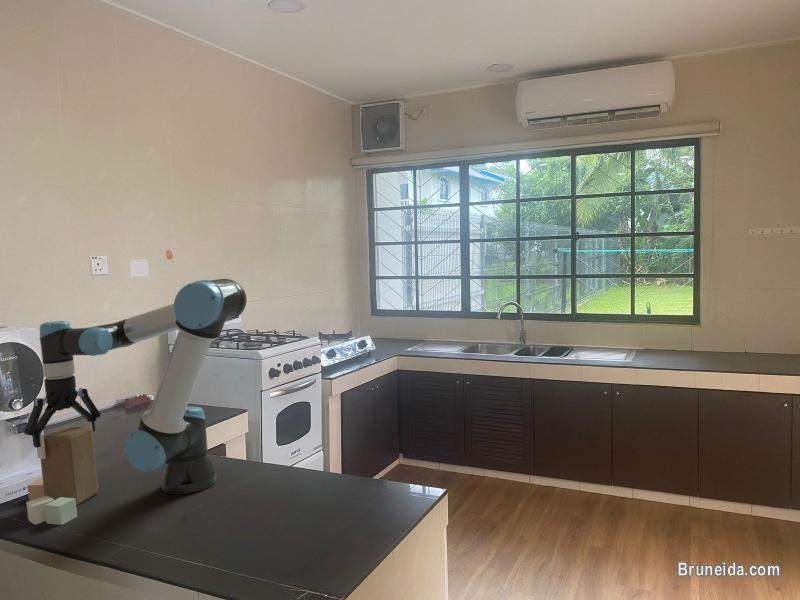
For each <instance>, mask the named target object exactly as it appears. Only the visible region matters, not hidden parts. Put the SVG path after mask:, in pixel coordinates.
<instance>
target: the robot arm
mask: <svg viewBox="0 0 800 600" xmlns="http://www.w3.org/2000/svg"><path fill="white" fill-rule="evenodd" d="M247 302H248V301H247V293H246V291H245V289H244V287H242V285H241V284H239V283H238V282H237V281H235V280H233V279H230V278H218V279H210V280H207V279H206V280H205V279H204V280H203V279H201V280H196V281H193V282H190V283H188V284H186V285H183V287H182V288H180V289H179V291H178V292H177V294H176V296H175V298H174V301H173V303H172V304H168V305H165V306H163V307H158V308H155V309H153V310H150V311H147V312H143V313H140V314H139V315H135V316H131V317H129V318H128V317H127V318H126V319H122V320H119V321H116V322H112V323H107V324H101V325H96V326H90V327H79V328H72V327H71V323H70V322H69V321H67V320H57V321H47V322H46V321H45V322H43V323H41V324H40V325H39V341H40V349H41V359H42V368H43V377H44V378H45V379H44V380H43V381H44V390H45V397H43V398H42V397H41V398H39V397H36V398H35V397H34V398H33V407H32V410H31V413H30V415H29V418H28V420H27V424H26V425H25V426H26V427H25V428H24V431H23V434H24V435H25V436H32V437H31V438H32V445H33V448H36V449H37V450H36V453H37V458H38V459H40V458H41V459H45V458H46V454H45V444H44V435H45V434H42V432H43V431H44V430H45V427H46V426H47V424H48V423H49V421H50V420H51V418H52V417H53V415H54V414H56V412H57V411H59V412H60V411H63V410H64V409H67V410H68V409H71V408H72V409H73V410H74V411H76V412H77V413H78V414H79V415H80V416H82V417H83V418H84V419H86V420H85V421H83V424H84V426H83V427H90V428H91V429H92V434H93V435H94V432H95V431H96V424H95V422H96V421H97V418H100V417H101V413H100V411H99V409H98V408H97V406H96V405H95V403H94V402H93V400H92V399H91V397H90V396H89V392H88V389H87V388H82V387H80V388H79V389H78V390H76V388H77V384H76V376H75V375H74V374H75V365H74V356H91V357H92V356H93V357H94V356H102V355H105V354H107V353H108V352H109V351H112V350H116V349H121V348H125V347H129V346H132V345H135V344H136V343H140V342H143V341H145V340H146V341H147V340H148V339H152V338H156V337H158V336H162V335H165V334H168V333H171V332H175V331H178V333H177V336H176V337H175V340H174V344H173V346H172V350H171V351H170V352H171V353H170V354H169V358H168V360H167V364H166V366H165V369H164V372H163V374H162V377H161V379H160V383H159V385H158V388H157V390H156V394H155V397H154V399H153V402H152V405H151V408H150V409H149V410H146V411H145V412H143V414H142V416H141V419H140V420H139V424H138V426H137V428H136V430H133V431H131V432H130V433H129V434H128V435H127V436H126V437H125V440H124V441H123V453H124V456H125V457H126V458H127V461H128V463H129V464H130V465H131V466H132V467H133V468H135V469H136V470H138V471H140V472H144V473H145V472H146V473H147V472H148V473H149V472H153V471H156V470H159V469H162V468H163V467H165V468H164V472H163V475H162V480H161V489H162V491H163V492H164V493H165V494H168V495H169V494H170V495H185V494H192V493H196V492H201V491H203V490H205V489H208V488H210V487H211V486H213V485H214V484H215V483H216V482H217V472H216V470H215V468H214V466H213V464H212V461H211V458H210V456H209V453H208V452H209V451H208V442H207V441H208V440H207V427H206V420H207V419H206V417H205V410H204V409H203V408H202V407H200V406H188V405H189V404H190V403H189V402H190V400H191V398H192V394H193V391H194V389H195V387H196V385H197V381H198V378H199V376H200V374H201V370H202V368H203V365H204V363H205V360H206V357H207V355H208V352H209V349H210V346H211V344H212V342H213V341H215V340H217V339H219V338H220V337H221V334H222V331H223V329H224V325H225V323H227V322H230V321H233V320H235V319H237V318H238V317H240V316H241V315H242V314H243V312H244V310H245V309H246V306H247ZM77 397H79V398H80V400H81V401H82V403H84V405H85V407H86V408H87V409H86V408H84V407H83V406H82V405H81V404H80V403H79V401H77V400H76V399H77ZM46 404H47V406H46ZM44 406H46V407H45V409H44V412H43V413H42V411H43V408H44ZM41 414H42V415H41ZM93 443H95V441H94V439H93ZM41 459H40V460H41Z"/></svg>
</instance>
